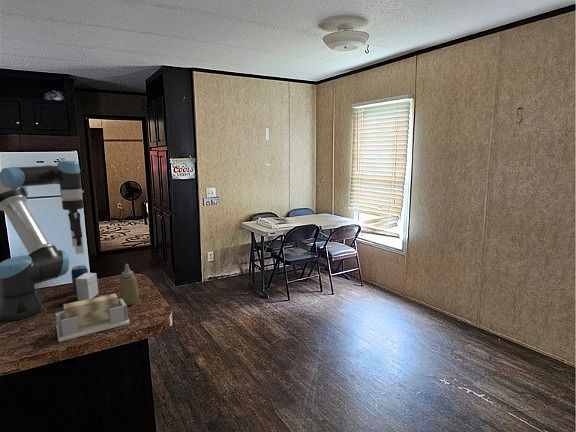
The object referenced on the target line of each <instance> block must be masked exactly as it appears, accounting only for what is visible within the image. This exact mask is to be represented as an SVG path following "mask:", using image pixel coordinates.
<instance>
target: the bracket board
mask: <svg viewBox="0 0 576 432" xmlns="http://www.w3.org/2000/svg"><path fill="white" fill-rule="evenodd" d="M109 312H110V318H109V319H105V320H101V321H97V322H93V323H89V324H85V325H81V326H78V322H77V316H76V317H72V318H67V319H65V313H64V310H63V311H59V312H55V319H56V332H57V340H58V343H60V342H63V341H68V340H71V339H75V338H76V339H77V338H79V337H82V336H83V337H84V336H87V335H90V334H91V335H92V334H94V333H100V332H101V331H107V330H110V329H114V328H117V327H118V328H119V327H122V326H126V325H129V324H131V322H130V321H131V320H130V318H129V315H128V305H126V304H125V302H124V300H123V299H122V298H121V299H120V298H118V307H115V308H111V309H109Z"/></svg>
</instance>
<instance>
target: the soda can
mask: <svg viewBox="0 0 576 432" xmlns="http://www.w3.org/2000/svg"><path fill="white" fill-rule="evenodd" d="M84 273H89V269H88V268H87V267H86V265H76V266H73V267H72V269H71V272H70V274H71V282H72V289H73V292H74V293H76V294H77V288H76V280H75V279H76V278H78V277H79V276H81V275H83V274H84Z"/></svg>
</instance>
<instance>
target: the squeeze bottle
mask: <svg viewBox="0 0 576 432" xmlns="http://www.w3.org/2000/svg"><path fill="white" fill-rule="evenodd" d="M139 295H140V291H139V287H138V281H137V278H136V276H135V275H134V271H133V270H131V269H130V267H129V264H128V263H125V264H124V271H122V272H121V277H119V299H121V298H122V299H123V300H124V302H125V304H126V305H127V306H131V305H135V304H137V302H138V300H139V297H140V296H139Z"/></svg>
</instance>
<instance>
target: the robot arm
mask: <svg viewBox="0 0 576 432" xmlns="http://www.w3.org/2000/svg"><path fill="white" fill-rule="evenodd" d="M43 185H44V186H46V185H59V189H60V191H59V192H60V199H61V205H62V209H63V210H64V211H68V214H67V215H68V220H69V226H70V227H69V229H70V231H71V232H70V234H71V243H72V247H73V248H75V254H76V255H80V254H84V253H85V252H84V244H83V242H84V241H83V231H82V225H81V213H80V212H78V210H82V209H83V208H85V207H84V206H85V205H84V199H83V193H85V192H84V190H83V189H82V178H81V169H80V164H79V162H78V161H77V160H60V161H59V160H58V162H57V165H52V164H51V165H50V164H49V165H39V166H35V165H34V166H19V167H18V166H10V167H4V168H2V169H1V171H0V212H1V211H2V212H4V214H5V215H6V217H7V219H8V220H9V222H10V223H11V226H12V227H13V229H14V231H15V233H17V236H18V238H19V240H20V241H21V242H22V244H23V246H24V247H25V250H26V251H27V253H28V254H27V255H19V256H14V257H11V258H7V259H4V260H3V261H1V262H0V297H1V300H0V320H1V321H9V322H10V321H17V320H18V321H19V320H22V319H26V318H29V317H32V316H35V315H37V314H39V313H40V312H42V311H43V309H44V306H43V302H42V300H40V298H39V295H38V293H37V292H36V286H35V285H37V284H41V283H44V282H47V281H51V280H53V279H58V278H59V277H62V276H65V275H66V274H67V272H68V271H69V268H70V258H69V255H68V253H67V252H66V251H65V250H62V249H57V247H56V245H54V244H50V243H49V240H48V239H47V238H46V236H45V235H44V232H43V231H42V229H41V227H40V226H39V224H38V223H37V221H36V218H34V216H33V214H32V213H31V211H30V209H29V208H28V205H27V204H26V203H27V200H28V199H27V198H28V197H29V192H28V187H34V186H43Z"/></svg>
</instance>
